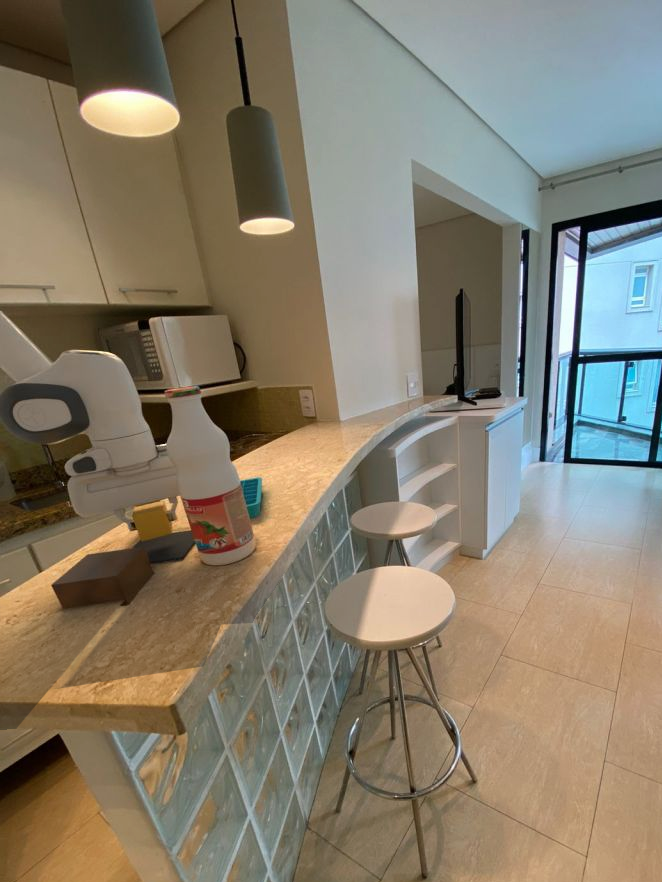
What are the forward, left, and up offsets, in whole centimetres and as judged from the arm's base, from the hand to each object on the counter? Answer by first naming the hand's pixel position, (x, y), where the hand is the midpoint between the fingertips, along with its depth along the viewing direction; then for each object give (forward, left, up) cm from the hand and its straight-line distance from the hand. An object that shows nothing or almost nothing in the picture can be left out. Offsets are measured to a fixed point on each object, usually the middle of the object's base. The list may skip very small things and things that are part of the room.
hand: (154, 524), depth 74 cm
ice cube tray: (+10, +18, -5) cm, 21 cm away
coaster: (0, 0, -5) cm, 5 cm away
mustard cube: (0, 0, -2) cm, 2 cm away
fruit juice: (+14, -6, -5) cm, 16 cm away
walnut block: (-2, -14, -5) cm, 15 cm away
